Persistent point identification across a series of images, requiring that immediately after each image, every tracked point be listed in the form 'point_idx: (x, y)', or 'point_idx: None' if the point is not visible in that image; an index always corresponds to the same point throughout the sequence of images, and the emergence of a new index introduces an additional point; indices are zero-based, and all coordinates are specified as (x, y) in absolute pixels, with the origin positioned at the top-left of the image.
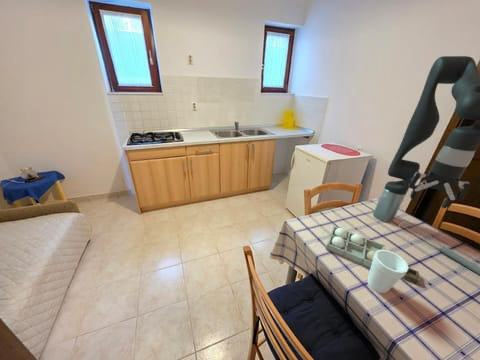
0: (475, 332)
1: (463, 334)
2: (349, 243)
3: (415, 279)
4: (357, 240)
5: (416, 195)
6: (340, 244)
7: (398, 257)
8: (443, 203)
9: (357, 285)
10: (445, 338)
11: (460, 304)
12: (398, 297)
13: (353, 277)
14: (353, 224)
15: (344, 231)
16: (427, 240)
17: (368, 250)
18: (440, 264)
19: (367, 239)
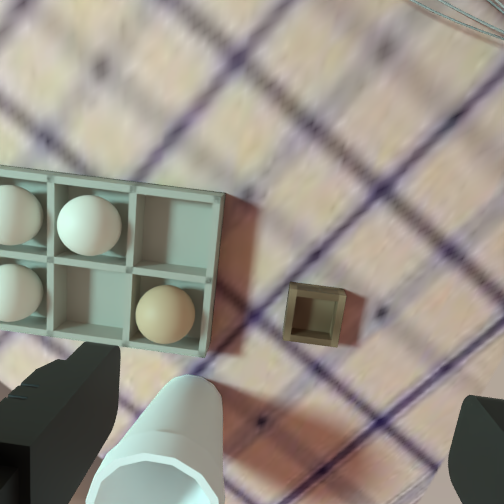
0: None
1: (410, 468)
2: (64, 262)
3: (322, 343)
4: (83, 254)
5: (65, 498)
6: (15, 320)
7: (190, 473)
8: (483, 454)
9: None
10: (353, 499)
11: (456, 362)
12: (253, 423)
13: None
14: (85, 28)
15: (7, 226)
16: (471, 18)
17: (146, 275)
18: (478, 161)
19: (140, 193)
